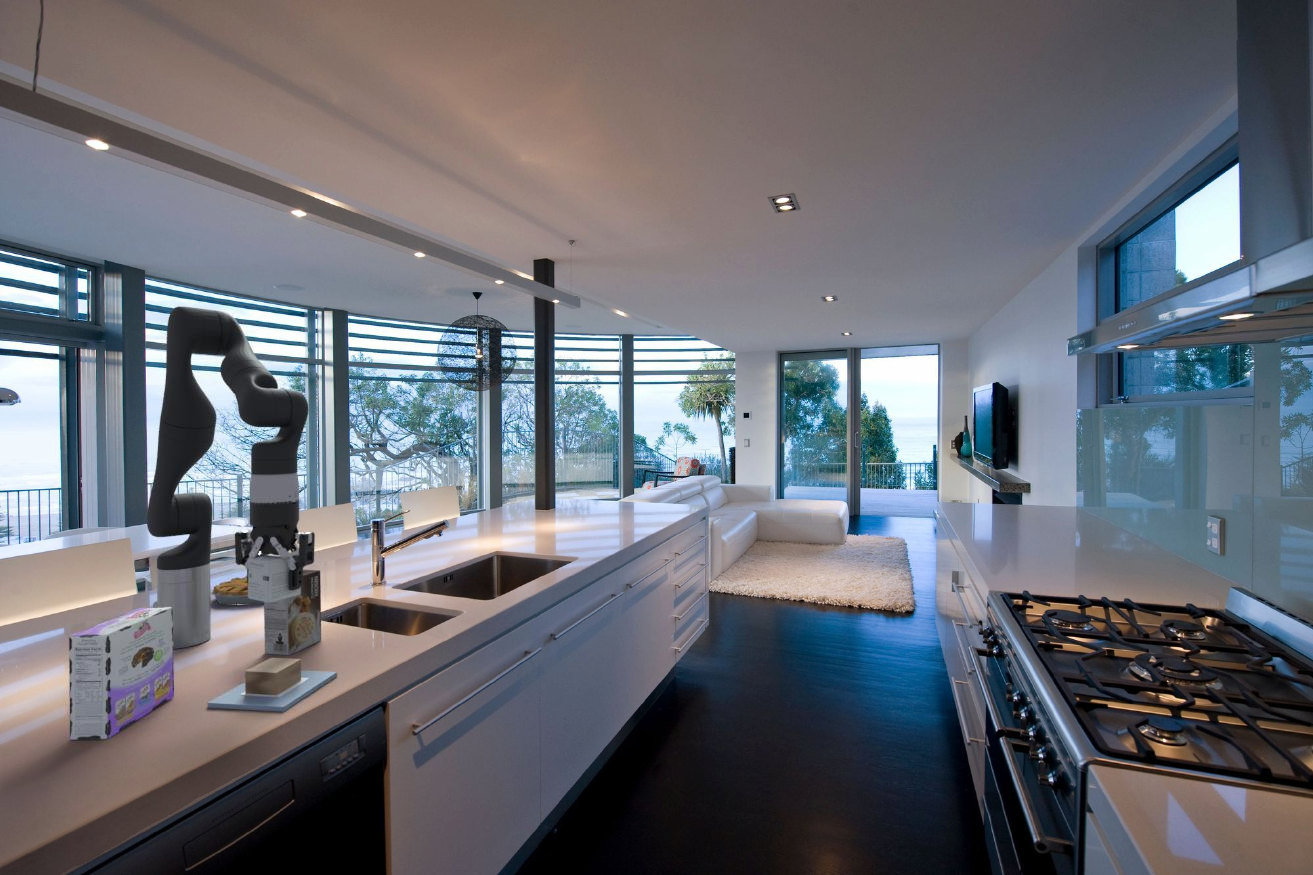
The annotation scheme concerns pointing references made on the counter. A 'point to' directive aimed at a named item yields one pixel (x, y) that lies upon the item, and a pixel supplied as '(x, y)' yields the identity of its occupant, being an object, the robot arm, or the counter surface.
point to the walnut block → (272, 676)
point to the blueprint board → (273, 702)
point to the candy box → (120, 672)
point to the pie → (234, 592)
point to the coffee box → (294, 618)
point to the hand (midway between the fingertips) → (275, 588)
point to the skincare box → (269, 579)
